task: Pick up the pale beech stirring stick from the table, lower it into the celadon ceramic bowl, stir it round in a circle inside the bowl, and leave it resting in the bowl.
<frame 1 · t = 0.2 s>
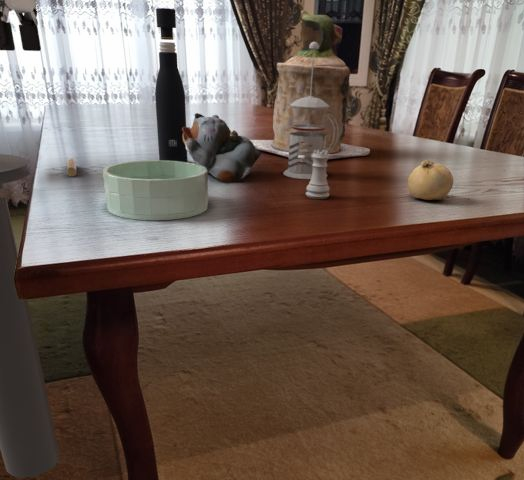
hand: (19, 50, 92), 22 cm above the table, tool pointing down, fingers open, 9 cm apart
lucky cat figurine: (222, 177, 110), on the table
stick: (72, 171, 110), on the table
rook chess piece: (317, 197, 97), on the table
black water bottle: (173, 164, 121), on the table
onion: (427, 200, 98), on the table
cookie jar: (307, 153, 140), on the table
bowl: (158, 206, 87), on the table
french press: (308, 175, 114), on the table
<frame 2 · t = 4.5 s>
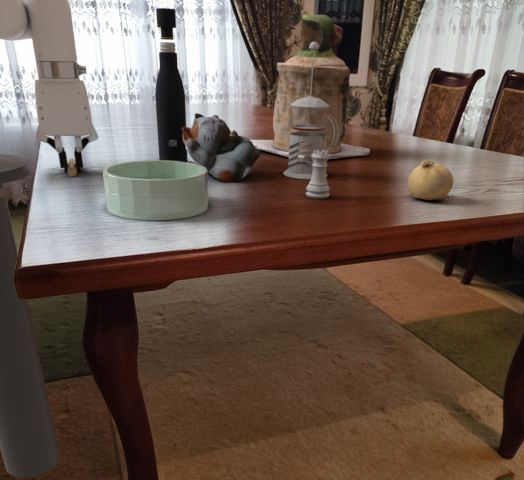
hand: (72, 170, 110), 0 cm above the table, tool pointing down, fingers closed on stick, 1 cm apart
stick: (75, 170, 110), on the table, tilted 41°, touching gripper
everything else where it was.
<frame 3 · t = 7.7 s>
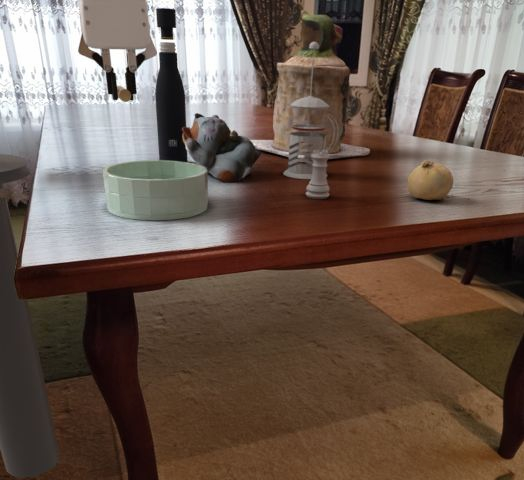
hand: (122, 98, 86), 16 cm above the table, tool pointing down, fingers closed on stick
stick: (126, 98, 86), point 16 cm above the table, tilted 41°, touching gripper
everything else where it was.
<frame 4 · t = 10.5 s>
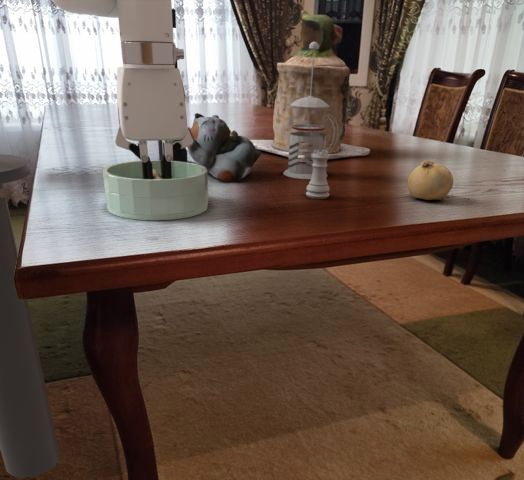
hand: (157, 185, 86), 4 cm above the table, tool pointing down, fingers closed on stick
stick: (161, 184, 86), point 4 cm above the table, tilted 41°, touching gripper
everything else where it was.
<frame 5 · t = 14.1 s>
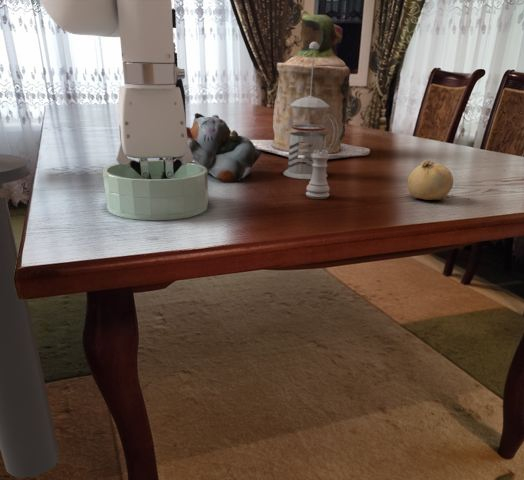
hand: (158, 201, 87), 1 cm above the table, tool pointing down, fingers closed on stick
stick: (162, 200, 87), point 1 cm above the table, tilted 41°, touching gripper
everything else where it was.
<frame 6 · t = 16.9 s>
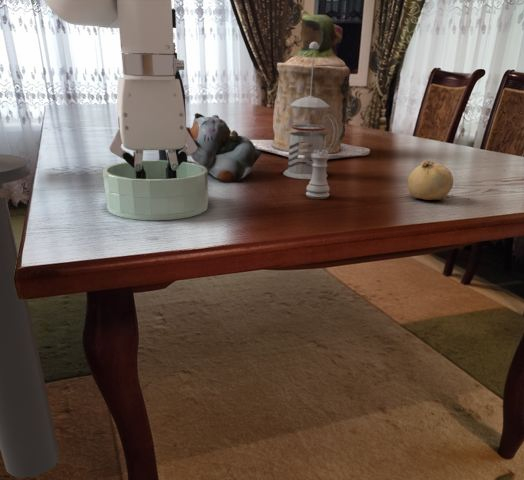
hand: (157, 193, 86), 2 cm above the table, tool pointing down, fingers open, 3 cm apart
stick: (160, 199, 87), point 1 cm above the table, tilted 45°, touching bowl
everything else where it was.
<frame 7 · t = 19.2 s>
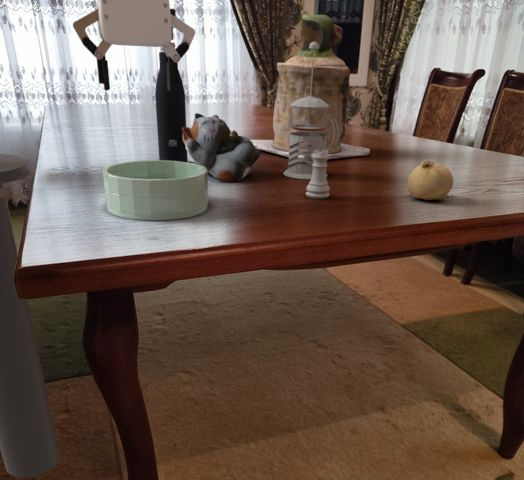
hand: (139, 90, 80), 17 cm above the table, tool pointing down, fingers open, 9 cm apart
stick: (154, 193, 86), point 2 cm above the table, tilted 116°, touching bowl
everything else where it was.
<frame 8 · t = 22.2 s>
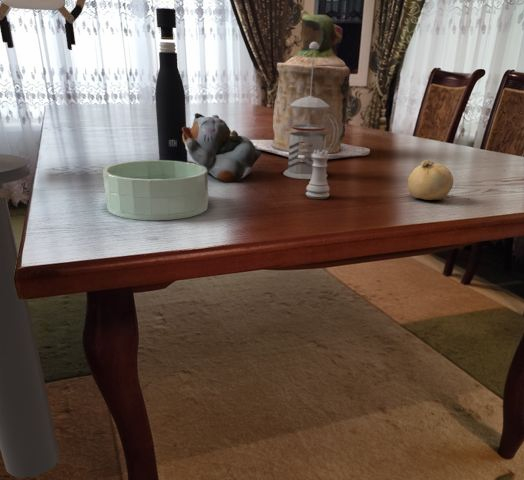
hand: (40, 48, 91), 22 cm above the table, tool pointing down, fingers open, 9 cm apart
nothing on the table moved.
at the end: stick inside the target area in the bowl (0.3 cm from its centre), point 2.0 cm above the bowl's base; the gripper is holding nothing; stick moved 34.4 cm from its start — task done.
